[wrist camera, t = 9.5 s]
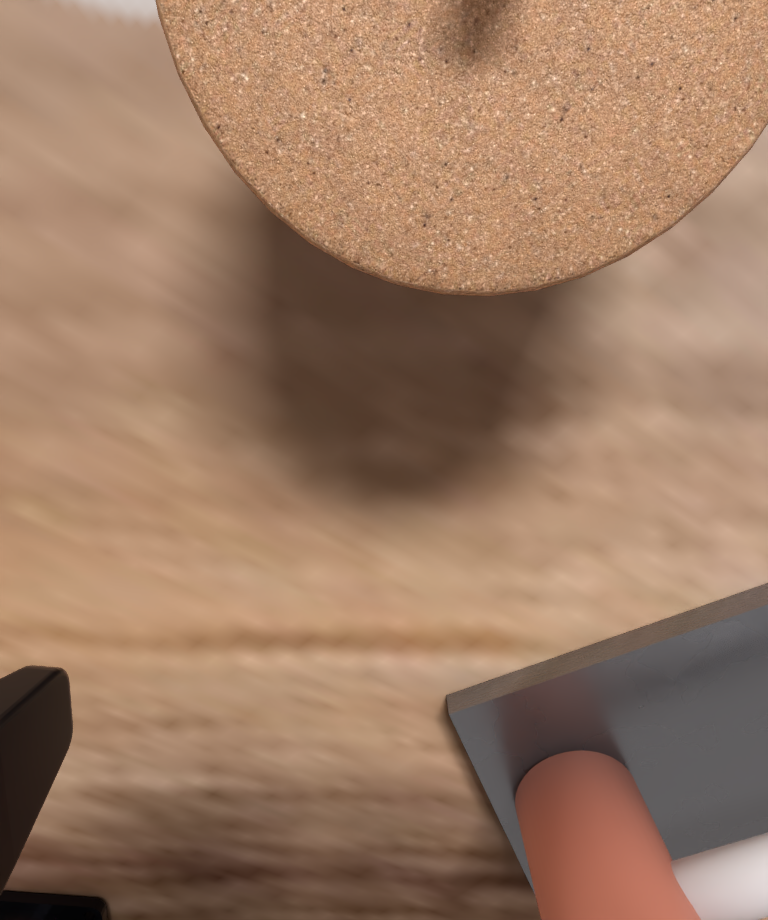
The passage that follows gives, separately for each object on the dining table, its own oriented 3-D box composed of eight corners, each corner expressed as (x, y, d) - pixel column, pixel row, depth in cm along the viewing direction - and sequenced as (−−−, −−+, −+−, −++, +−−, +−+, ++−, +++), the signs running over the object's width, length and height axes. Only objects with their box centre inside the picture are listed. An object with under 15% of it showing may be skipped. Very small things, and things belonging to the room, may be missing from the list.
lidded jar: (496, -287, 14) (672, -1207, 5) (722, 116, 17) (1102, -60, 8) (168, 43, 16) (-100, -228, 7) (411, 358, 19) (431, 440, 10)
